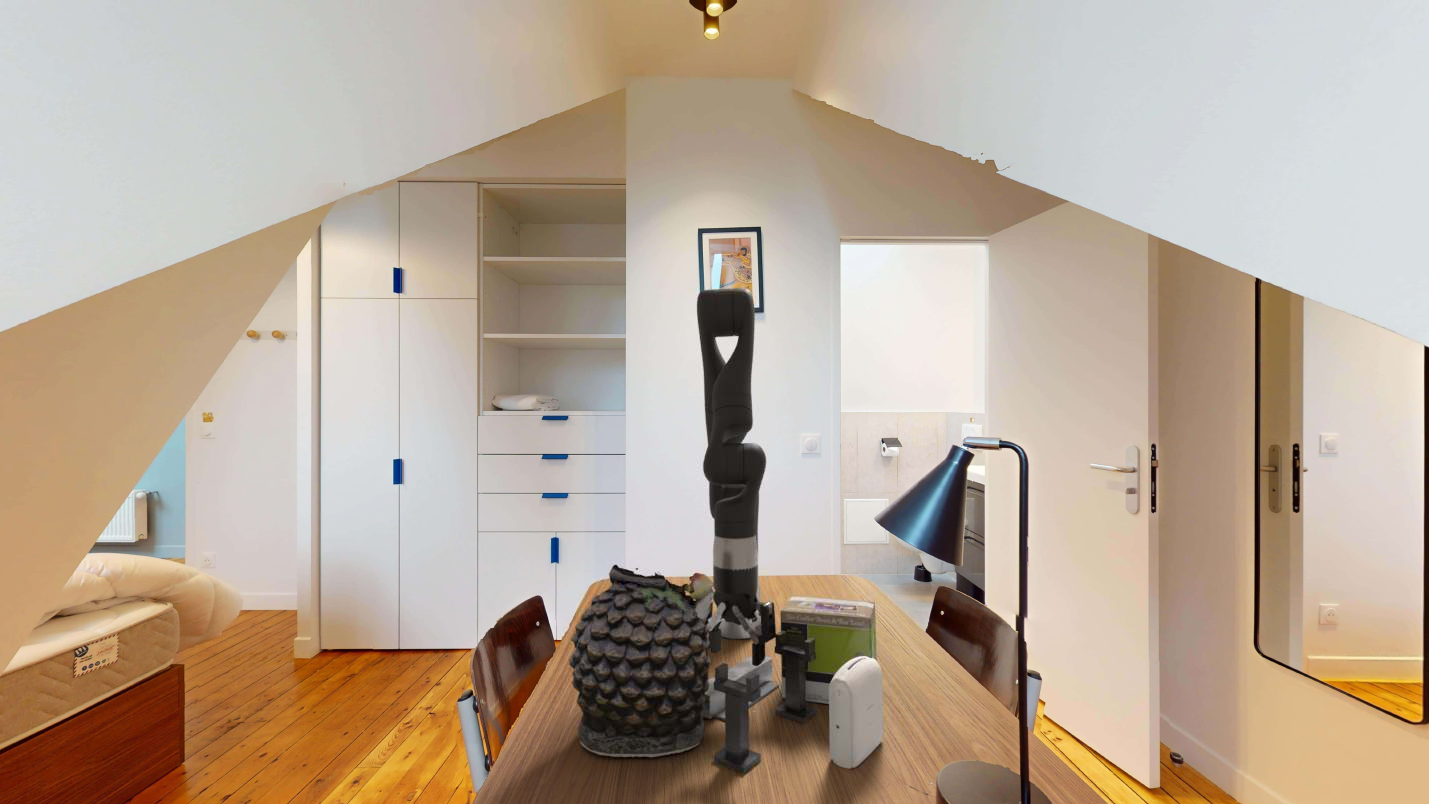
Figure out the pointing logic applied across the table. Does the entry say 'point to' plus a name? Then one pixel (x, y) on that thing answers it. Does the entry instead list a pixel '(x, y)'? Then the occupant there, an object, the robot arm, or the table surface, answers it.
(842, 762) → the photo printer
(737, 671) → the rail
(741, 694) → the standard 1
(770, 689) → the pad
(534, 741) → the table surface
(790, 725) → the table surface
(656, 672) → the scaly pinecone sculpture
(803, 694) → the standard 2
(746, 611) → the robot arm
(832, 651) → the tea box
